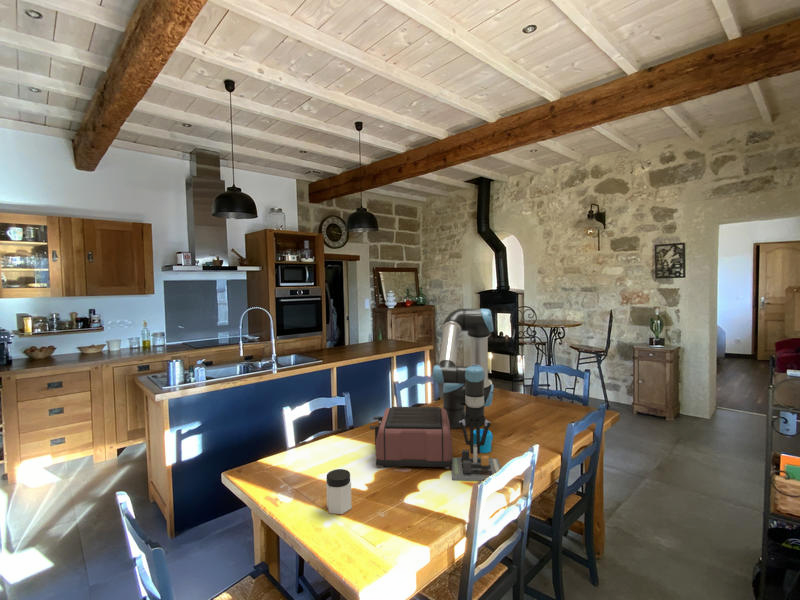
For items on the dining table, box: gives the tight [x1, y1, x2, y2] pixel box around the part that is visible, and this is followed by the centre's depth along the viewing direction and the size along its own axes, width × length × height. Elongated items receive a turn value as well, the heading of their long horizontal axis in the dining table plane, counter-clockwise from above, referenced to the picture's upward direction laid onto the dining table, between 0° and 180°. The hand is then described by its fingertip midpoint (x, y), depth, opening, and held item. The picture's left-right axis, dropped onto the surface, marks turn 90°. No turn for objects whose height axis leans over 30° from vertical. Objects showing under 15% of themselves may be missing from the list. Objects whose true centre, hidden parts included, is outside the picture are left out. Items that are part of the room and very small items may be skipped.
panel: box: [451, 456, 502, 482], centre depth 167 cm, size 16×20×2 cm
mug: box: [473, 428, 494, 454], centre depth 189 cm, size 12×8×8 cm
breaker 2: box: [463, 460, 471, 473], centre depth 162 cm, size 3×3×4 cm
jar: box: [325, 468, 353, 515], centre depth 141 cm, size 9×8×12 cm
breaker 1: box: [461, 449, 470, 462], centre depth 172 cm, size 3×3×4 cm
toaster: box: [369, 406, 453, 470], centre depth 184 cm, size 31×36×18 cm
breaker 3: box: [480, 454, 489, 468], centre depth 166 cm, size 3×3×4 cm
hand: (475, 461), depth 167 cm, fingers closed
